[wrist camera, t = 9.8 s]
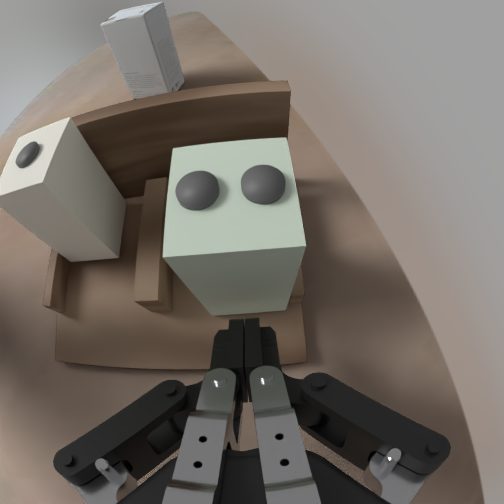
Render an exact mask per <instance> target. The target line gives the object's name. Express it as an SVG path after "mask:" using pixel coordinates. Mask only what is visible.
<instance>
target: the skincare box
mask: <svg viewBox="0 0 504 504" xmlns="http://www.w3.org/2000/svg"><path fill="white" fill-rule="evenodd" d="M101 27H102V30H103V32H104V34H105V37H106V39H107V41H108V44H109V46H110V49H111V51H112V53H113V56H114V58H115V60H116V63H117V65H118V67H119V70H120V72H121V74H122V76H123V79H124V81H125V83H126V85H127V88H128V90H129V92H130V94H131V97H132V98H133V99H139V98H144V97H148V96H153V95H158V94H163V93H168V92H174V91H178V90H179V88H180V87H181V86H182V84H183V83H184V76H183V73H182V69H181V65H180V62H179V58H178V55H177V51H176V47H175V44H174V40H173V36H172V32H171V29H170V25H169V21H168V18H167V14H166V10H165V6H164V3H163V2H160V3H153V4H147V5H142V6H137V7H133V8H128V9H124V10H120V11H118V12H117V13H116V14H114V15H113V16H111V17H110V18H109V19H107V20H106V21H105V22H103V23H102V24H101Z"/></svg>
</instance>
